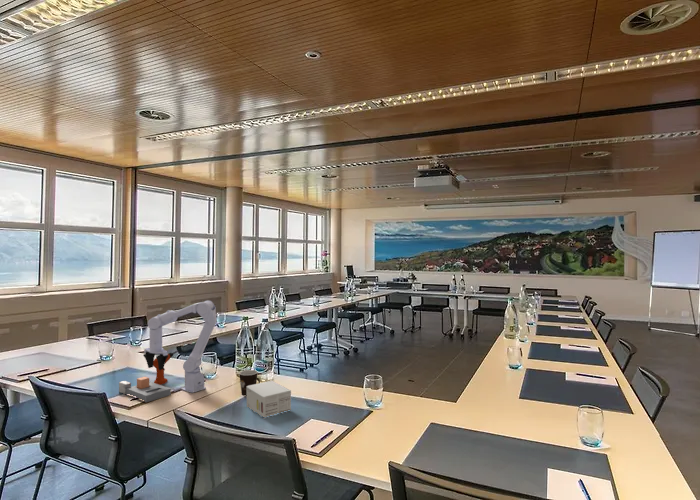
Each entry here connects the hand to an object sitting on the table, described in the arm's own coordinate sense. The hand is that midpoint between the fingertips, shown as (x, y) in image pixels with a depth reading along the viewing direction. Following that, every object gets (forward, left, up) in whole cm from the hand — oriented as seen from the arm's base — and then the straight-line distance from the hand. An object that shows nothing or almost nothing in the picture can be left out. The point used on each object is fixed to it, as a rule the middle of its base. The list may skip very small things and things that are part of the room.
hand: (155, 368), depth 203 cm
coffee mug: (-43, -22, -11) cm, 49 cm away
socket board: (-4, +6, -10) cm, 13 cm away
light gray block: (+8, +11, -10) cm, 17 cm away
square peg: (+1, +6, -10) cm, 12 cm away
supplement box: (-64, -15, -11) cm, 66 cm away
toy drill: (+9, -11, -11) cm, 18 cm away
